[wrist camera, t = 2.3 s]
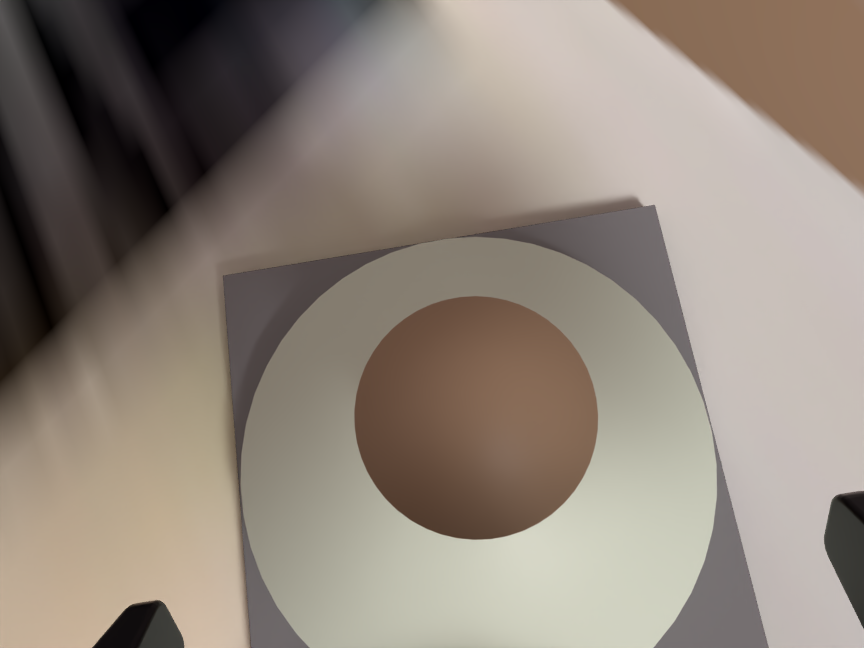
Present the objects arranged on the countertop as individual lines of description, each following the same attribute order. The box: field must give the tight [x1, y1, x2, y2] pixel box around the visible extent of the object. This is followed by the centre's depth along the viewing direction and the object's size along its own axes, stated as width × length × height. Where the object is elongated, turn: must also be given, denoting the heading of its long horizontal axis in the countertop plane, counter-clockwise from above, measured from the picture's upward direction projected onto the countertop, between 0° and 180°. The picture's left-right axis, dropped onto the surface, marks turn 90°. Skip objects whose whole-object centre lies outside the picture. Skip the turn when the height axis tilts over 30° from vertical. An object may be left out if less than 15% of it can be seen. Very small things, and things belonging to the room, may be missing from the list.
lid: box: [240, 237, 717, 648], centre depth 13 cm, size 12×12×10 cm
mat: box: [223, 205, 769, 648], centre depth 18 cm, size 13×13×1 cm
